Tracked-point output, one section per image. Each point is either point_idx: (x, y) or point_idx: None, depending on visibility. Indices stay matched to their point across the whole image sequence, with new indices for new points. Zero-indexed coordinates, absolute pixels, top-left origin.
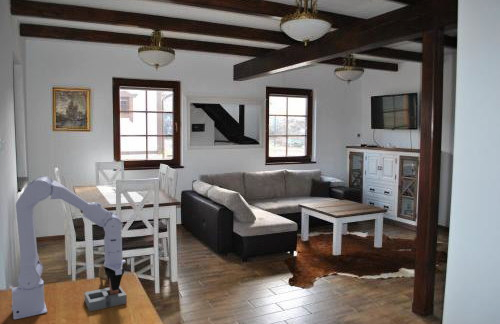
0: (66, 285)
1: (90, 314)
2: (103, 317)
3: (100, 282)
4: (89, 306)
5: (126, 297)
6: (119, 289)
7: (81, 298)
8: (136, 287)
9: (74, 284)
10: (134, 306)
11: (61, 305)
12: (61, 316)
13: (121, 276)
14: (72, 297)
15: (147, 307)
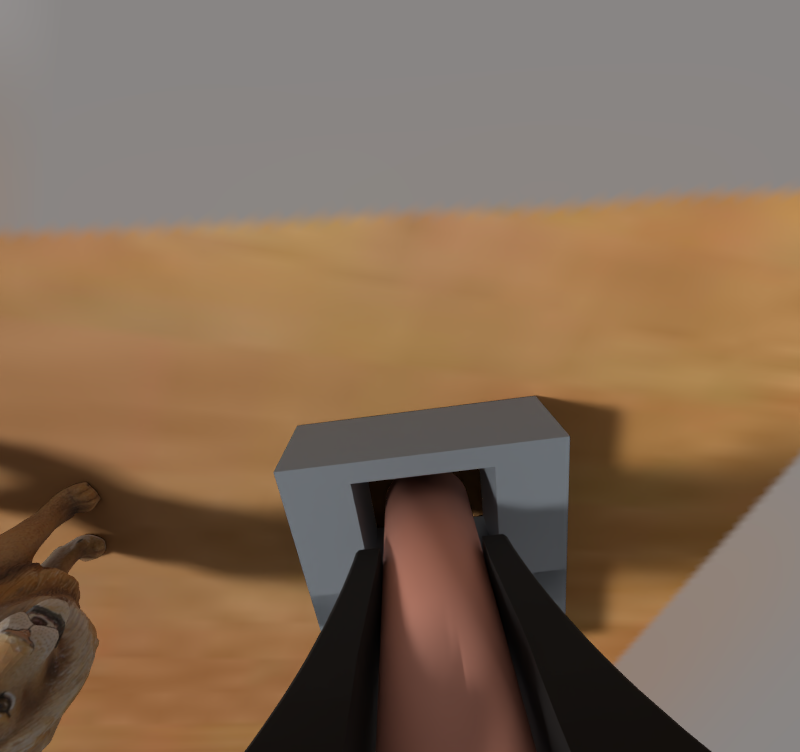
0: (61, 717)
1: (582, 619)
2: (676, 559)
3: (67, 573)
4: None
5: (556, 421)
6: (363, 475)
7: (307, 654)
8: (185, 251)
9: None
10: (637, 339)
11: None
12: None
13: (673, 726)
14: (274, 691)
15: (737, 219)
